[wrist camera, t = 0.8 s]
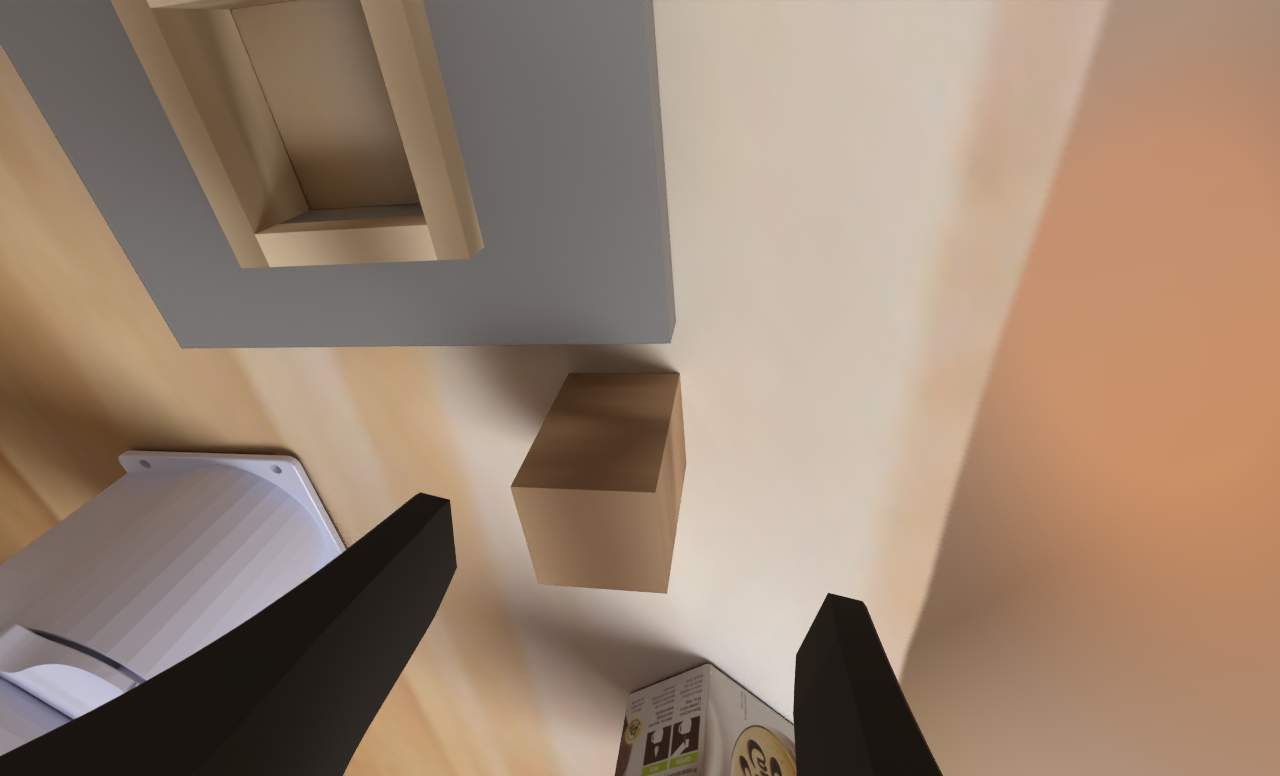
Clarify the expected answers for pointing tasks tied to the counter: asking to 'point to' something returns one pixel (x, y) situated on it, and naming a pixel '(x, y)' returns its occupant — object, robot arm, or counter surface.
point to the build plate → (377, 235)
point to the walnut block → (605, 483)
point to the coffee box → (703, 730)
